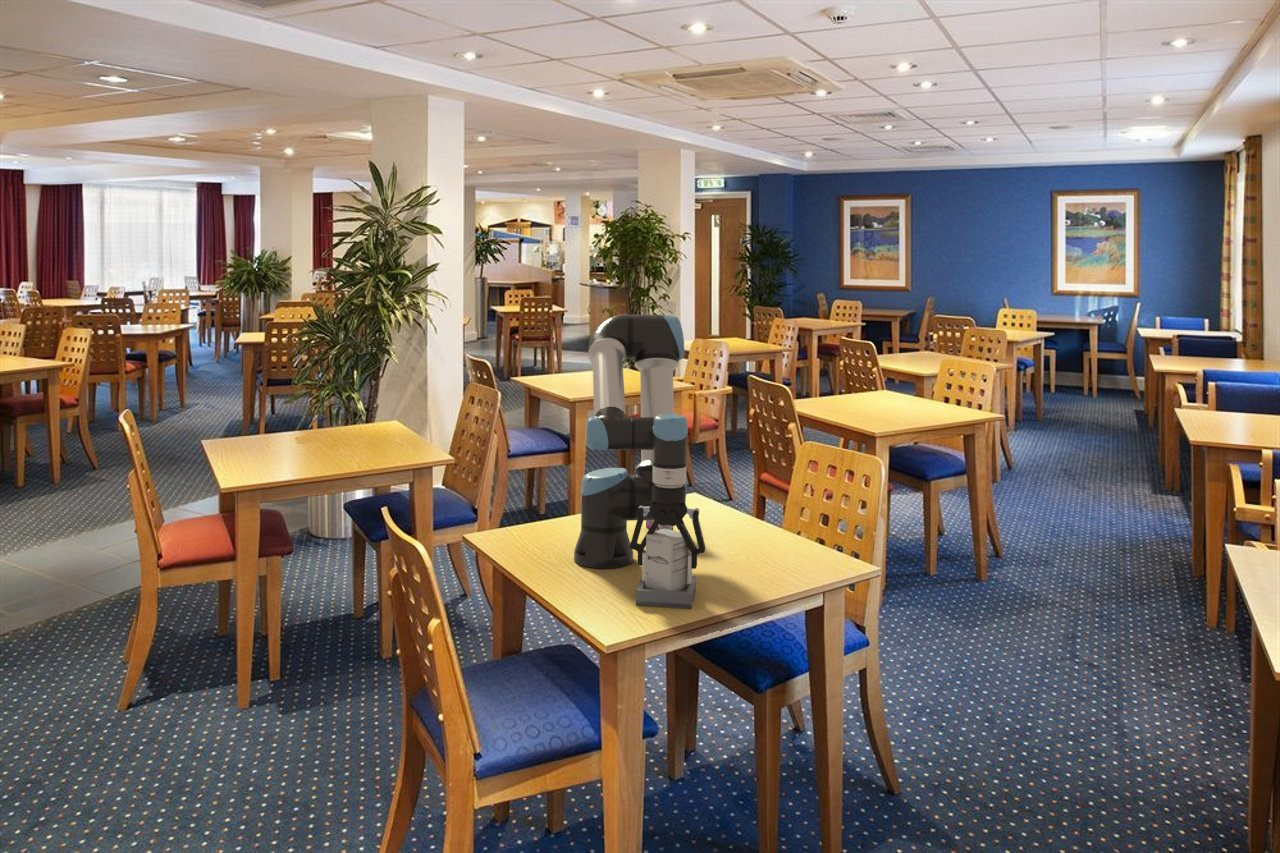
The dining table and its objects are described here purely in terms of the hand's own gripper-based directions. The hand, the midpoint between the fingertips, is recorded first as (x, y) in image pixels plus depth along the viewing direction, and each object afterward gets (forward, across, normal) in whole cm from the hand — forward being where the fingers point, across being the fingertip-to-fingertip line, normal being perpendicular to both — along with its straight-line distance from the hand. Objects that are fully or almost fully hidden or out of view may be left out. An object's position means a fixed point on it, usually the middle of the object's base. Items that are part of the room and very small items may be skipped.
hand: (666, 580), depth 213 cm
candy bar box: (+4, -8, +54) cm, 55 cm away
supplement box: (+2, 0, 0) cm, 2 cm away
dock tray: (+4, 0, 0) cm, 4 cm away
